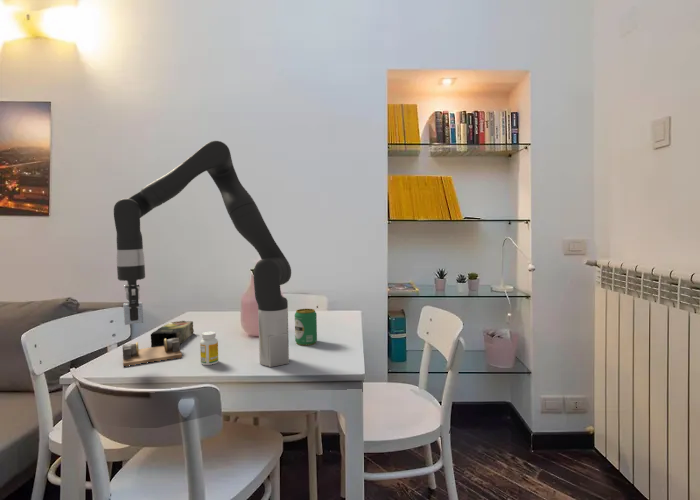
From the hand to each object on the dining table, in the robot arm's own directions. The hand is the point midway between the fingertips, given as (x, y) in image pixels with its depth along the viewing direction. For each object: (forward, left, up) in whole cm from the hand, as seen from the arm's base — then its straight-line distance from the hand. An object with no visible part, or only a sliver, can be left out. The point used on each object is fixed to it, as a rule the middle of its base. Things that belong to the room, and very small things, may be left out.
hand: (133, 318), depth 127 cm
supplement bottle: (-9, -20, -15) cm, 27 cm away
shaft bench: (+8, -5, -15) cm, 18 cm away
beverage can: (-5, -55, -15) cm, 58 cm away
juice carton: (+25, -14, -16) cm, 33 cm away
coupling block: (0, 0, -1) cm, 1 cm away
